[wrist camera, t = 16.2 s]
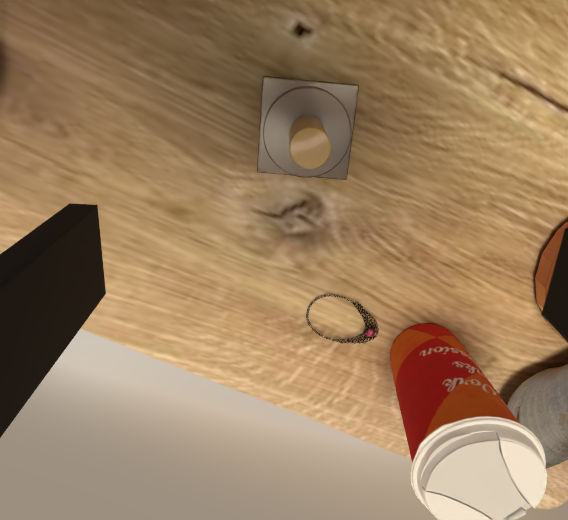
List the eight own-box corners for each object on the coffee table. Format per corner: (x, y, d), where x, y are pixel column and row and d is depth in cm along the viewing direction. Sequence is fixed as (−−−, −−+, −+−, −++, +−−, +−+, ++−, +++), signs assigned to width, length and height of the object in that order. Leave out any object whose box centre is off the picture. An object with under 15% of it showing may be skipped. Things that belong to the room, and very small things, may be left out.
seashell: (537, 325, 43) (566, 357, 39) (622, 354, 44) (661, 389, 40) (471, 432, 48) (490, 472, 43) (550, 456, 49) (577, 499, 44)
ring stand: (263, 76, 36) (256, 82, 28) (356, 84, 37) (376, 93, 28) (257, 169, 39) (249, 200, 31) (345, 176, 39) (359, 209, 31)
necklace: (366, 350, 44) (367, 357, 43) (298, 327, 44) (299, 333, 43) (386, 310, 43) (389, 316, 42) (317, 286, 42) (318, 291, 41)
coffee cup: (491, 354, 45) (584, 489, 31) (417, 408, 47) (472, 558, 33) (430, 291, 42) (499, 405, 28) (355, 351, 45) (385, 486, 31)
